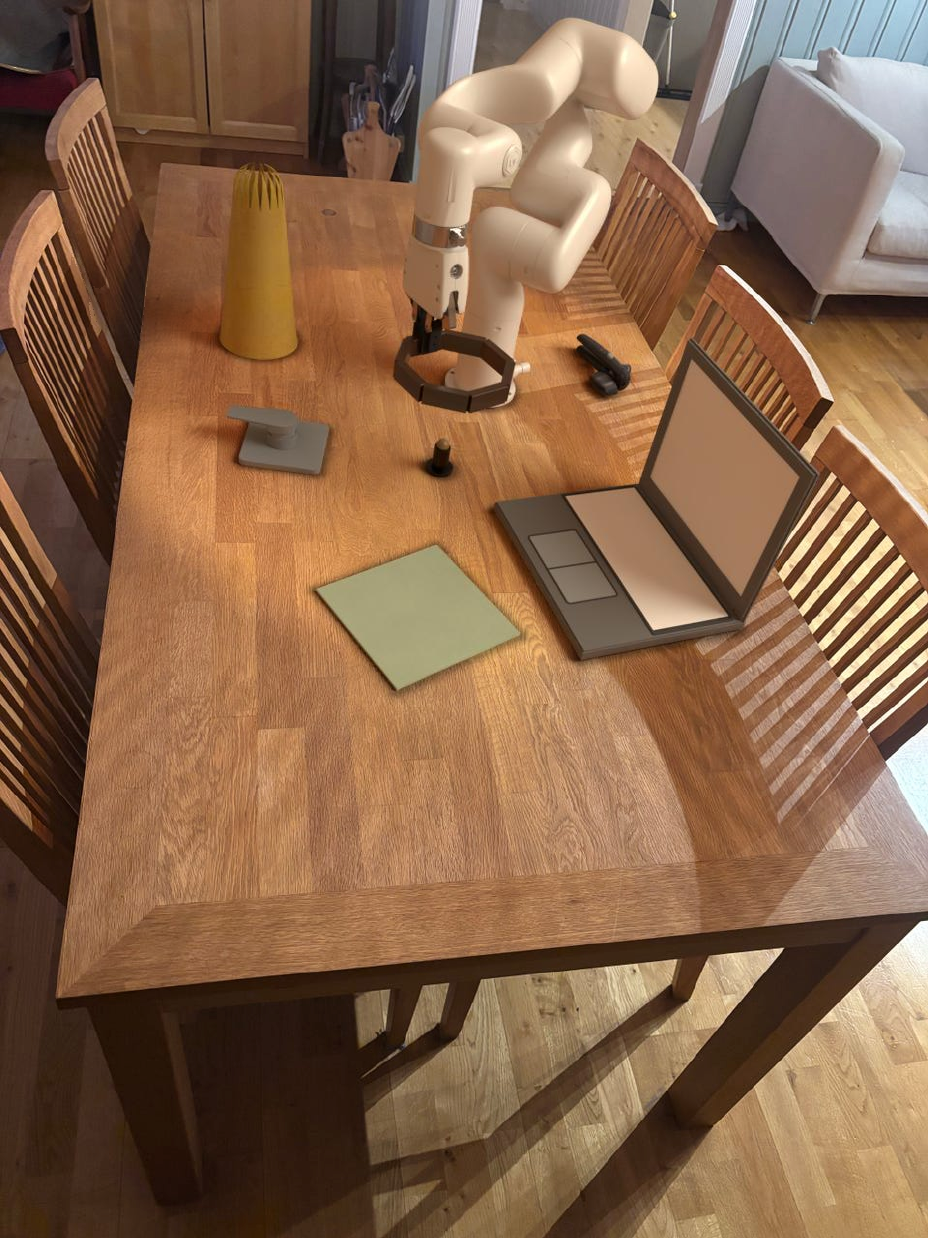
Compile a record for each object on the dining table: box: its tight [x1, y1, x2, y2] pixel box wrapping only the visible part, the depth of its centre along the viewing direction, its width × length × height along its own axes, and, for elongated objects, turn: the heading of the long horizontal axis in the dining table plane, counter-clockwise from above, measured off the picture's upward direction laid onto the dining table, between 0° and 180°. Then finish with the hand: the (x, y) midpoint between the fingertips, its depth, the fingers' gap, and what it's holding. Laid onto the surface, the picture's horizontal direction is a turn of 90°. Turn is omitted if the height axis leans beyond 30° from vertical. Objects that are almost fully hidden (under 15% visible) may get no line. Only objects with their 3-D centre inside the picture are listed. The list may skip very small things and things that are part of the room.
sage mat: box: [315, 544, 521, 691], centre depth 131 cm, size 20×20×1 cm
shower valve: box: [226, 405, 330, 476], centre depth 150 cm, size 12×6×15 cm
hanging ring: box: [392, 329, 517, 414], centre depth 140 cm, size 17×17×3 cm
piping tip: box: [219, 162, 299, 361], centre depth 162 cm, size 14×14×30 cm
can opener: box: [575, 333, 632, 397], centre depth 179 cm, size 18×7×6 cm, turn 20°
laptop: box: [492, 337, 821, 661], centre depth 133 cm, size 32×26×28 cm
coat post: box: [425, 438, 454, 478], centre depth 152 cm, size 4×4×6 cm
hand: (424, 347), depth 145 cm, fingers closed on hanging ring, 1 cm apart
